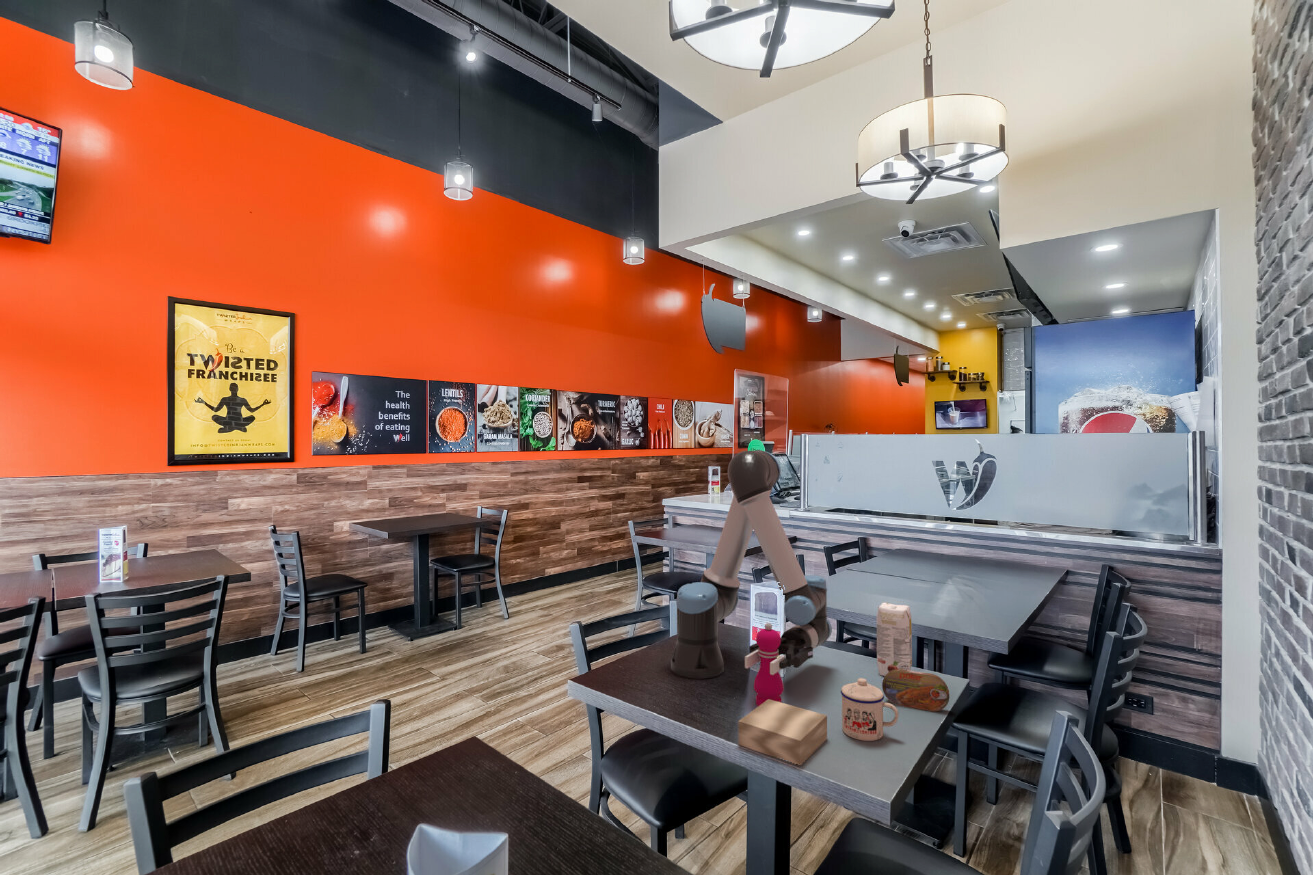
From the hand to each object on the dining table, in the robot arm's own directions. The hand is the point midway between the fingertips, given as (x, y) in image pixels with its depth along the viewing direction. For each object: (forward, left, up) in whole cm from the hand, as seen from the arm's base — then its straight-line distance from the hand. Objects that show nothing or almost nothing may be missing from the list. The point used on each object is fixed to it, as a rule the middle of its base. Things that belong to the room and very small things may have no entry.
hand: (758, 665), depth 143 cm
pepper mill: (0, +5, -11) cm, 12 cm away
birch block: (+11, -10, -11) cm, 18 cm away
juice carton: (+19, +44, -11) cm, 49 cm away
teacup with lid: (+25, +5, -11) cm, 27 cm away
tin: (+29, +26, -11) cm, 41 cm away
